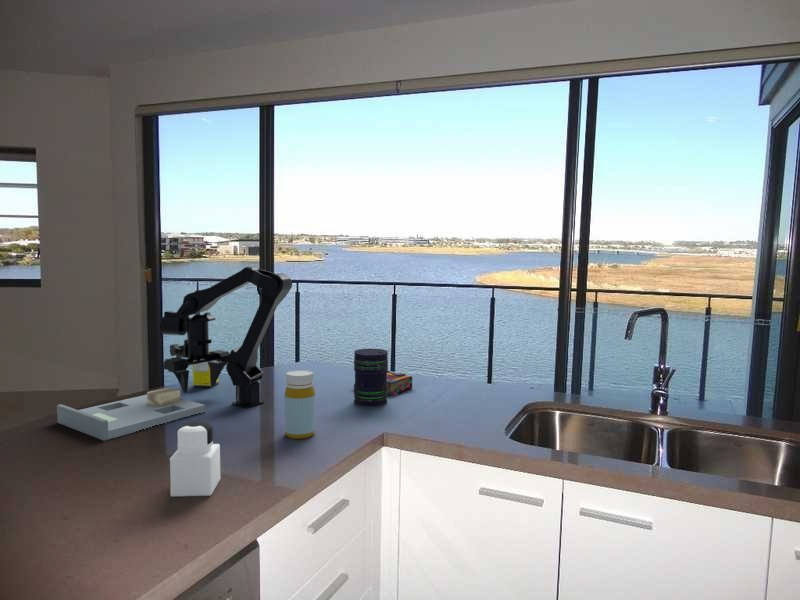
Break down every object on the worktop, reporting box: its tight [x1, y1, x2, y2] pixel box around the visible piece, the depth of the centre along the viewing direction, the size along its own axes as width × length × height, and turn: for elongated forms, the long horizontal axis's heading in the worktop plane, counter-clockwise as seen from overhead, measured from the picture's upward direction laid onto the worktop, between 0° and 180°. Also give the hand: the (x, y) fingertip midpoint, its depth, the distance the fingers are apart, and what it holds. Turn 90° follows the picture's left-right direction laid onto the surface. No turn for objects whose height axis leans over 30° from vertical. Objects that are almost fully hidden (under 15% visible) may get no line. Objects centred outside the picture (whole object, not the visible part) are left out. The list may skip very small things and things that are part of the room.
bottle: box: [284, 369, 316, 440], centre depth 128 cm, size 7×7×15 cm
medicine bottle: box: [169, 420, 221, 498], centre depth 99 cm, size 7×7×12 cm
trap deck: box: [56, 394, 206, 442], centre depth 140 cm, size 22×27×4 cm
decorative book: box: [387, 370, 413, 397], centre depth 173 cm, size 11×16×5 cm
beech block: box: [146, 387, 182, 407], centre depth 147 cm, size 6×6×3 cm
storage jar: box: [353, 348, 389, 408], centre depth 156 cm, size 10×10×15 cm
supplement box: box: [192, 350, 220, 389], centre depth 173 cm, size 6×6×11 cm
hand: (199, 389), depth 156 cm, fingers open, 9 cm apart
